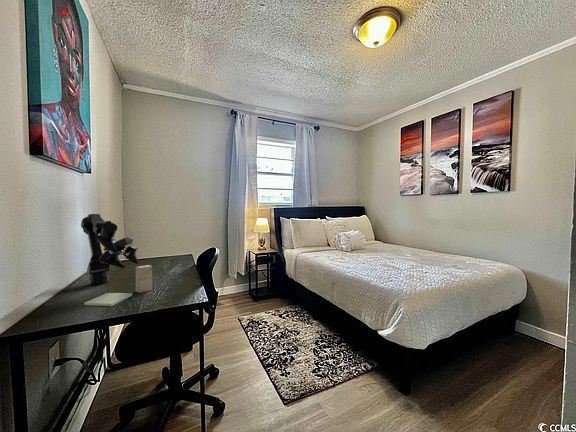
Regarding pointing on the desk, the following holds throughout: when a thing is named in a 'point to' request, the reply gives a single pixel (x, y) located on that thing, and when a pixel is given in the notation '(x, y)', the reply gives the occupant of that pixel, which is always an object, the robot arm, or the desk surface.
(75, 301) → the desk surface
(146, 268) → the skincare box
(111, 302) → the sage tile
